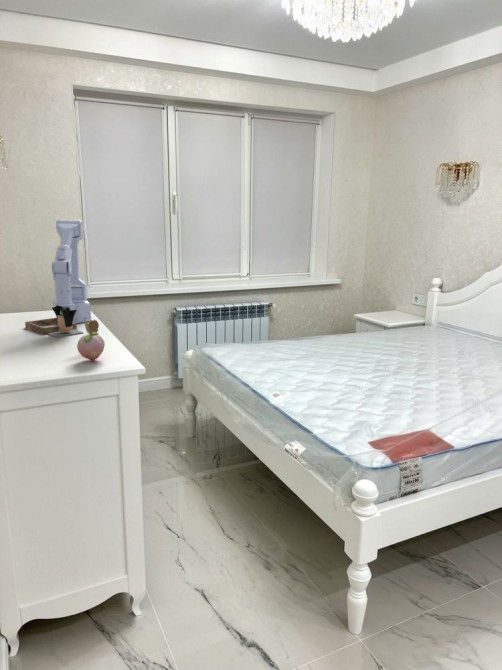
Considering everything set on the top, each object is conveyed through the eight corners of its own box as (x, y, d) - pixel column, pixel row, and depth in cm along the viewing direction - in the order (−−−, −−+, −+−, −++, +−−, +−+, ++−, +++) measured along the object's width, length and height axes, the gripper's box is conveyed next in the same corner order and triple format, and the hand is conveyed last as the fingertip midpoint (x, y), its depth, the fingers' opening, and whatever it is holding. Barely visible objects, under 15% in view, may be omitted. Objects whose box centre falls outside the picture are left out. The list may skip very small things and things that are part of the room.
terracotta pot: (68, 328, 201) (67, 306, 198) (74, 330, 197) (73, 308, 195) (56, 329, 197) (54, 308, 195) (62, 332, 193) (61, 309, 191)
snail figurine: (80, 349, 176) (78, 316, 173) (93, 345, 181) (92, 313, 179) (91, 351, 173) (90, 318, 171) (105, 347, 179) (103, 315, 176)
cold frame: (58, 323, 216) (57, 317, 215) (76, 329, 205) (76, 323, 205) (25, 327, 206) (25, 321, 205) (43, 334, 195) (42, 328, 195)
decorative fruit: (82, 356, 167) (80, 327, 165) (107, 356, 168) (105, 328, 166) (74, 365, 158) (72, 334, 156) (100, 365, 159) (99, 334, 157)
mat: (74, 330, 204) (74, 329, 204) (83, 333, 199) (83, 332, 199) (48, 334, 196) (48, 333, 196) (56, 337, 191) (56, 336, 191)
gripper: (44, 290, 195) (46, 323, 198) (62, 294, 186) (64, 330, 189) (61, 288, 200) (63, 321, 204) (79, 292, 191) (81, 327, 194)
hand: (65, 325), depth 197 cm, fingers closed on terracotta pot, 5 cm apart
